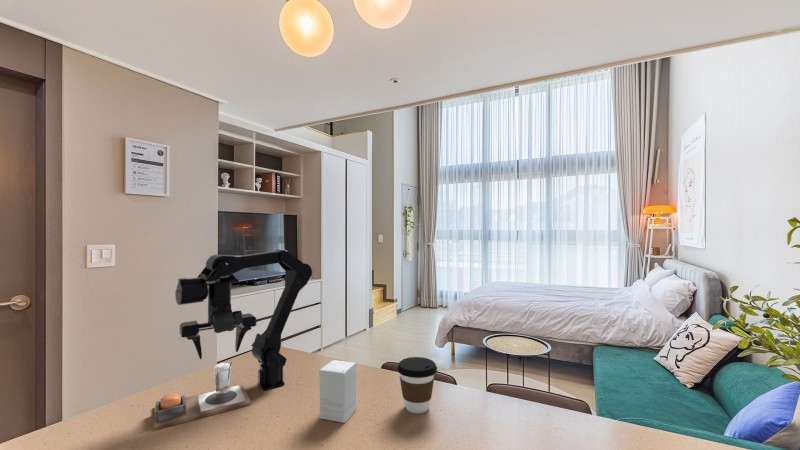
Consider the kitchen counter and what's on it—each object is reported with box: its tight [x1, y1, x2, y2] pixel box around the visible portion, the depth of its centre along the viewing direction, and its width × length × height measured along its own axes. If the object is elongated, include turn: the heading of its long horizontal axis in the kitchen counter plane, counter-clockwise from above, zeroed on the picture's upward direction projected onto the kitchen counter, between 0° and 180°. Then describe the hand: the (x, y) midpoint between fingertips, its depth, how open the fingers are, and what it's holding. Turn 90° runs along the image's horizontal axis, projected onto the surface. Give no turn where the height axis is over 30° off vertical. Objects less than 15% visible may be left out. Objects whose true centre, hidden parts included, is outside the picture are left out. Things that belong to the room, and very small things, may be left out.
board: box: [153, 384, 252, 431], centre depth 97 cm, size 22×13×3 cm, turn 124°
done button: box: [160, 392, 182, 410], centre depth 92 cm, size 4×4×3 cm
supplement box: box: [318, 359, 358, 424], centre depth 93 cm, size 7×7×13 cm
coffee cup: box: [396, 356, 438, 415], centre depth 96 cm, size 11×11×12 cm
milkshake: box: [212, 361, 233, 399], centre depth 101 cm, size 5×5×10 cm
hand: (219, 355), depth 100 cm, fingers open, 9 cm apart
